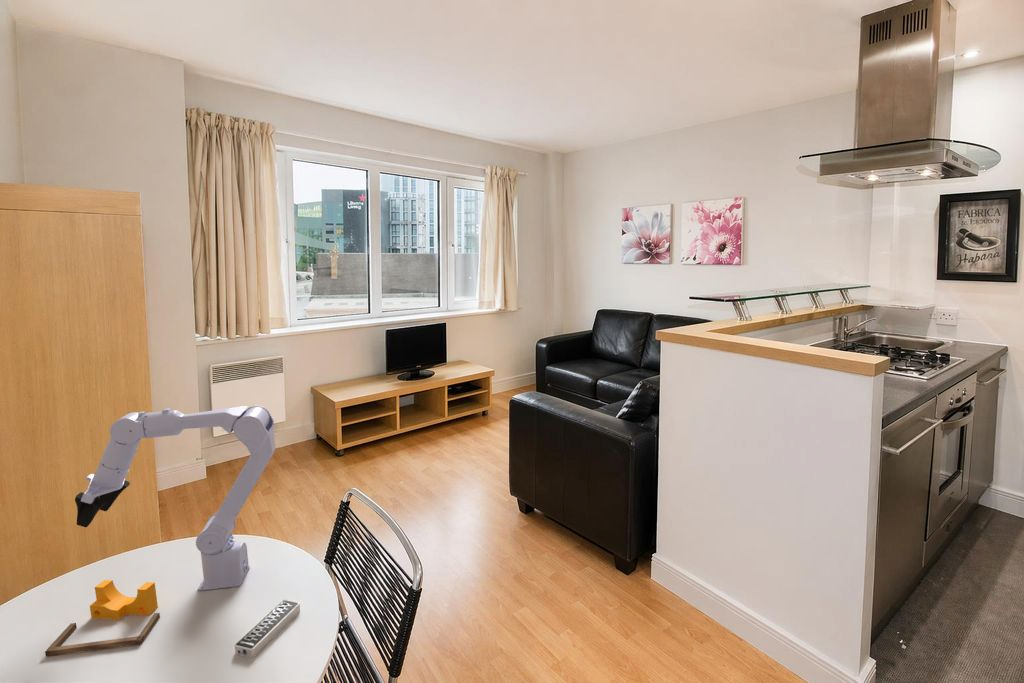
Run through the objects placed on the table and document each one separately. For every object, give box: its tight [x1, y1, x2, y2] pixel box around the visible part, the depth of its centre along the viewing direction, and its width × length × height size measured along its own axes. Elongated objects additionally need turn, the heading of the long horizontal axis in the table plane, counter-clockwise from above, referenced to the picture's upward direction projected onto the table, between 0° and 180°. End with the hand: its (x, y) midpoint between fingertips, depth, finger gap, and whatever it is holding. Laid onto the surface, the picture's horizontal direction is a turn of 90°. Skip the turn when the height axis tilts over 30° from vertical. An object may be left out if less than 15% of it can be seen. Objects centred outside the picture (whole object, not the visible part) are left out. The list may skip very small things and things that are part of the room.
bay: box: [44, 612, 161, 658], centre depth 107 cm, size 17×8×1 cm, turn 101°
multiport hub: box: [234, 599, 301, 659], centre depth 109 cm, size 4×14×2 cm, turn 164°
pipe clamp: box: [89, 579, 159, 621], centre depth 114 cm, size 12×4×6 cm, turn 85°
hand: (92, 517), depth 117 cm, fingers open, 7 cm apart
